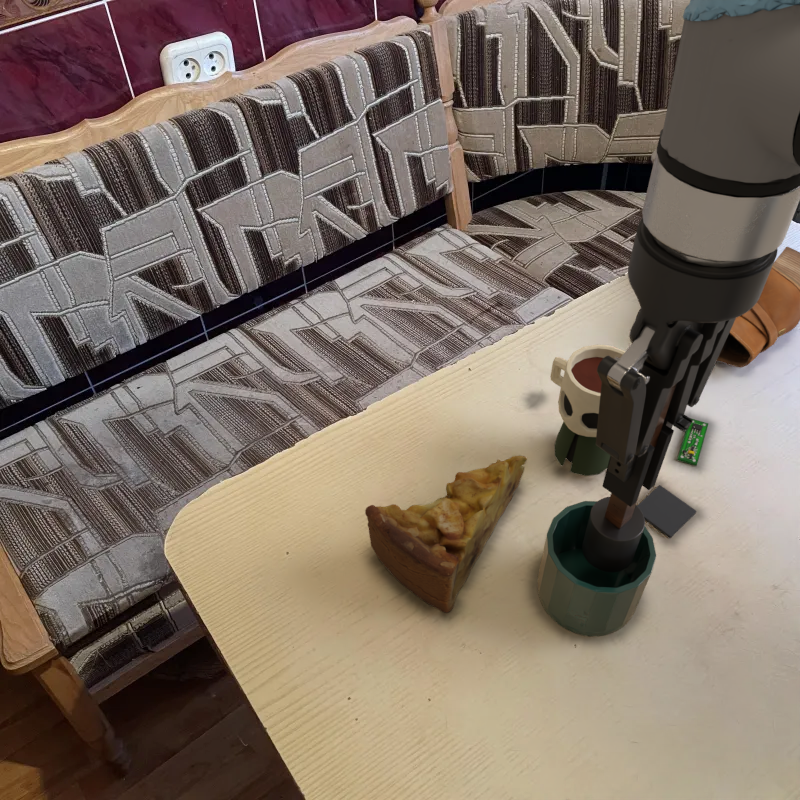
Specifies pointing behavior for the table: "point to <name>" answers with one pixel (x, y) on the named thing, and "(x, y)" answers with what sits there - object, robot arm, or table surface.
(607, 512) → the brown post with base
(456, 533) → the pie slice
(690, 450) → the green pcb module
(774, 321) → the boot
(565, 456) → the character mug
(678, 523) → the mat
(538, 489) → the table surface
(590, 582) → the cup
